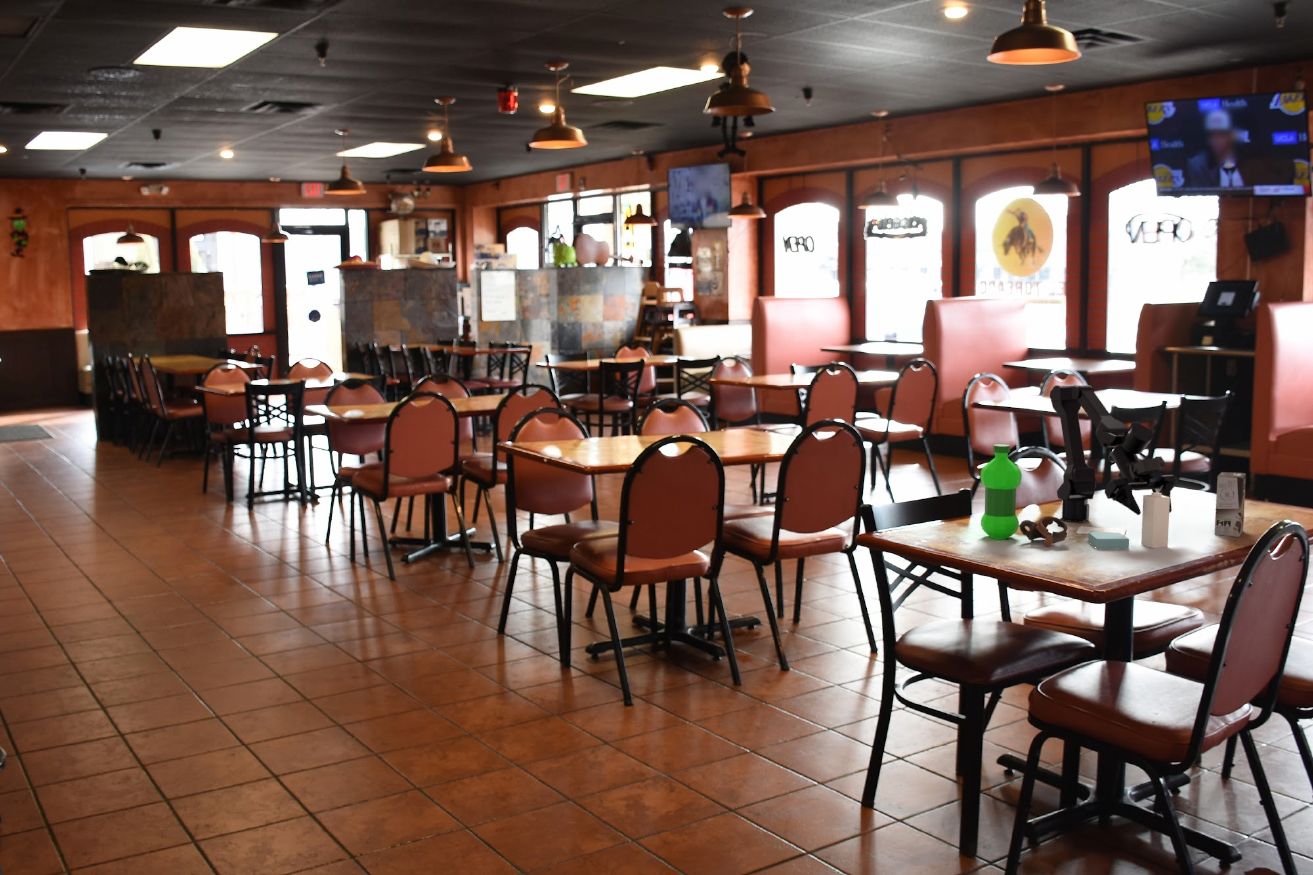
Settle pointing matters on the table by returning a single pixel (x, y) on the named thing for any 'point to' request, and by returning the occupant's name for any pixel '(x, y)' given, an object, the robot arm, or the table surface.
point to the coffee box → (1230, 504)
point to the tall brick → (1155, 520)
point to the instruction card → (1099, 530)
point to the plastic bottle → (1000, 494)
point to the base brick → (1108, 540)
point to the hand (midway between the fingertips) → (1155, 512)
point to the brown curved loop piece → (1044, 530)
